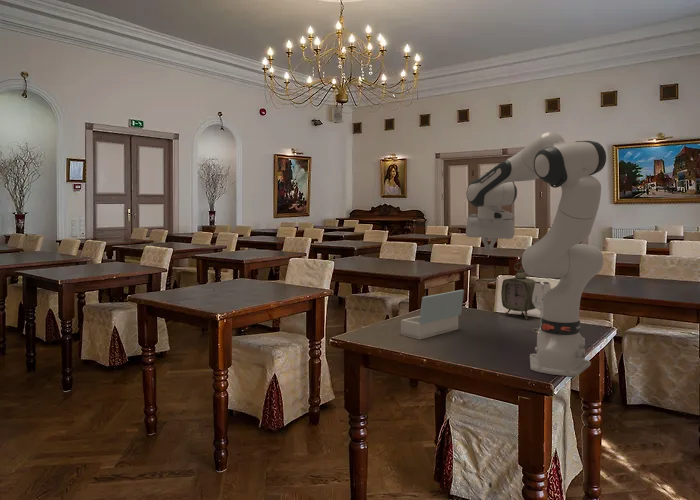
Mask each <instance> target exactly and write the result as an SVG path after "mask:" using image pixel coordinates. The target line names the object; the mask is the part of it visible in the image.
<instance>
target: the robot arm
mask: <svg viewBox="0 0 700 500" xmlns="http://www.w3.org/2000/svg"><path fill="white" fill-rule="evenodd" d="M606 162H607V153H606V150H605V148H604V147H603V145H602V144H600V142H597V141H592V140H576V141H573V142H566V141H565V139H564V137H562V135H560V134H559V133H557V132H554V131H546V132H543V133H541V134H540V135H538V136H536V137H535V138H534V139H532V140H531V141H530V142H529V143H528V144H526V146H524V148H522V149H521V150H520V151H518V152H517V153H516V154H514V155H512V156H511V157H509V158H507V159H506V160H504V161H502V162H500V163H497V165H495V166H494V167H493V168H491V169H490V170H489V171H487V172H483V173H482V174H480V177H479V178H475V179H473V180H472V181H471V182H470V183H469V184H468V186H467V188H466V195H465V196H466V199H467V201H468V202H469V203H470V204H471V205H472V206H473V207H475V208H477V213H471V214H469V215H468V216H467V218H466V227H465V236H466V237H467V238H468V237H469V238H481V241H482V243H483V246H484V250H490V251H491V250H494V246H495V243H496V242H497V239H503V240H506V239H507V240H508V239H509V240H511V239H513V238H514V237H515V222H514V221H513V219H514V213H513V212H509V211H507V210H504V209H502V207H503V206H511V205H512V204H513V203H514V202H515V201H516V199H517V198H518V197H517V195H518V188H517V186H516V184H515V183H514V182H529V181H535V180H537V179H540V180H541V181H543V182H545V183H546V184H549V186H550V187H551V188H554V189H556V188H557V189H558V188H561V196H560V200H559V202H558V205H557V206H558V207H557V210H556V214H555V217H554V219H553V221H552V224H551V227H550V228H549V230H548V231H547V232H546V234H545V235H543V236H542V237H541V239H539V240H538V241H537V242H535V243H534V244H532V245H529V246H528V247H527V248H525V250H524V252H523V253H522V256H521V263H522V264H521V266H522V268H523V271H524V270H525V272H524V273H525V274H527V275H528V276H530V277H531V276H532V277H538V278H543V279H546V278H547V279H550V278H552V279H553V278H557V279H558V278H560V279H559V282H558V283H557V285H555V286H554V287H551V289H550V290H549V291H547V292H546V294H545V295H544V298H543V317H542V319H541V318H540V325H541V331H540V332H539V333H536V346H535V347H534V349H533V350H534V351H535V352H536V353H530V354H529V366H530V370H531V371H534V372H537V373H543V374H548V375H554V376H555V375H557V376H564V377H565V376H566V377H578V376H579V375H580V374H582V373H583V372H584V371H586V370H587V369H588V368H589V367H591V365H592V363H591V361H590V360H588V359H586V339H585V337H583V335H581V333H580V332H581V328H582V327H581V326H582V324H581V320H580V307H581V299H582V295H583V292H584V289H585V288H586V286H587V284H588V283H589V282H590V281H591V279H593V278H594V277H595V276H596V275H598V274H599V273H600V272H601V270H602V268H603V266H604V262H605V261H604V260H605V259H604V255H603V252H602V251H601V250H600V248H599V247H598V246H596V245H593V244H588V243H587V244H585V243H582V242H584V241H585V240H586V239H588V237H589V236H590V235H591V232H592V230H593V226H594V223H595V220H596V216H597V214H598V210H599V207H600V203H601V195H602V185H601V182H600V181H599V180H598V178H597V177H594V175H595V174H597V173H599V172H601V171H602V170H603V169H604V168H605V165H606ZM488 241H490V243H489V242H488Z"/></svg>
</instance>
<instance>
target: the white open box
mask: <svg viewBox="0 0 700 500" xmlns="http://www.w3.org/2000/svg"><path fill="white" fill-rule="evenodd" d="M419 320H420V315H418V316H414V317H412V316H411V317H409V318H404V319H400V335H401V336H405V337H409V338H413V339H417V340H423V339H427V338H430V337H434V336H437V335H441V334H445V333H450V332H452V331H453V332H454V331H456V330H459V315H458V316H454V317H450V318H446V319H441V320H437V321H433V322H429V323H425V324H419Z"/></svg>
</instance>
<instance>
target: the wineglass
mask: <svg viewBox="0 0 700 500" xmlns="http://www.w3.org/2000/svg"><path fill="white" fill-rule="evenodd" d="M550 289H552V287H551V283H550V282H548V281H536V282H535V285H534V289H533V294H532V303H533V305H534V307H535V308H536V310H538V311H539V312H540V320H541V319H542V317H543V298H544V295H545V294H546V292H547V291H549V290H550ZM540 331H541V324H540V326H539V328H537V327H536V328H532V329H531V332H533V333H536V334H537V333H539V332H540Z"/></svg>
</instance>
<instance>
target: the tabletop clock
mask: <svg viewBox="0 0 700 500" xmlns="http://www.w3.org/2000/svg"><path fill="white" fill-rule="evenodd" d="M517 265H522V262H516V263H514V266H513V269H514V270H515V271H516V272H517V273H515V275H514V277H511V278H505V279H503V281H502V283H501V284H502V285H501V305H502V306H503V308H504V309H507V311H506V312H504V315H505V316H509V313H510V312H511V311H513V312H521V314H520V316H522V317H524V319H525V320H529V316H528V311H532V310H535V309H536V310H537V308H535V307H534V305H533V303H532V294H533V289H534V285H535V282H537V281H536V280H535V279H532V278H528V277H527V276H526V272H525V270H524V269H522V268H519V269H517V268H516V266H517Z"/></svg>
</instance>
